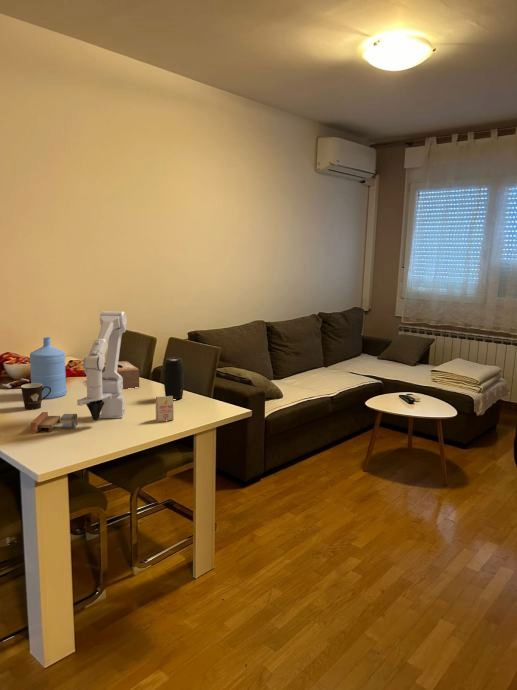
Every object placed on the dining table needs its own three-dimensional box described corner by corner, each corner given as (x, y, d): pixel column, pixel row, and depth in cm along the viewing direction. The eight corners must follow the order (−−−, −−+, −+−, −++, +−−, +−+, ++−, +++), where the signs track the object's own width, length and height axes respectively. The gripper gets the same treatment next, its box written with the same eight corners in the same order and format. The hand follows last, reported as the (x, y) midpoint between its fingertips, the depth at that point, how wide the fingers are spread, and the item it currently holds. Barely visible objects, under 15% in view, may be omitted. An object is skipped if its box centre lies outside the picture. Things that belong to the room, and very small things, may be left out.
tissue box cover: (139, 388, 258) (139, 369, 257) (111, 391, 252) (110, 371, 250) (127, 378, 281) (126, 361, 279) (100, 380, 274) (100, 362, 272)
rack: (61, 421, 200) (60, 411, 200) (50, 432, 186) (50, 422, 186) (42, 421, 199) (42, 412, 199) (31, 433, 186) (30, 422, 185)
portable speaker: (187, 399, 238) (187, 358, 235) (169, 402, 232) (169, 360, 229) (178, 395, 245) (178, 356, 242) (161, 398, 239) (160, 358, 236)
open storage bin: (77, 424, 197) (77, 413, 196) (74, 428, 192) (74, 417, 191) (64, 425, 196) (64, 413, 195) (61, 429, 191) (60, 417, 190)
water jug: (58, 399, 233) (56, 340, 228) (25, 399, 233) (22, 339, 229) (71, 391, 248) (69, 335, 244) (40, 390, 248) (37, 335, 244)
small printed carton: (155, 419, 205) (155, 395, 204) (172, 418, 208) (172, 394, 206) (156, 422, 202) (156, 398, 200) (173, 420, 204) (173, 397, 203)
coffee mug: (20, 411, 213) (19, 388, 212) (24, 405, 221) (22, 383, 220) (49, 409, 216) (48, 387, 215) (52, 404, 225) (51, 382, 223)
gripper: (103, 381, 201) (104, 413, 203) (71, 387, 189) (73, 422, 191) (115, 383, 197) (115, 417, 199) (83, 390, 185) (84, 425, 187)
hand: (95, 419), depth 194 cm, fingers closed
